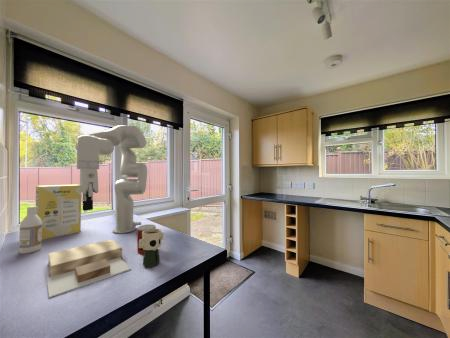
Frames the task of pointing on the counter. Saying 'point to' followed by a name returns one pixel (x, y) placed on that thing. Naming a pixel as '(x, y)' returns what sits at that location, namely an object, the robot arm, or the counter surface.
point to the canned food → (139, 236)
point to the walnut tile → (92, 270)
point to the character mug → (151, 246)
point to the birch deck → (82, 256)
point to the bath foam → (30, 232)
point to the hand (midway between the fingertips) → (87, 209)
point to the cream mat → (69, 281)
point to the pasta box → (59, 209)
